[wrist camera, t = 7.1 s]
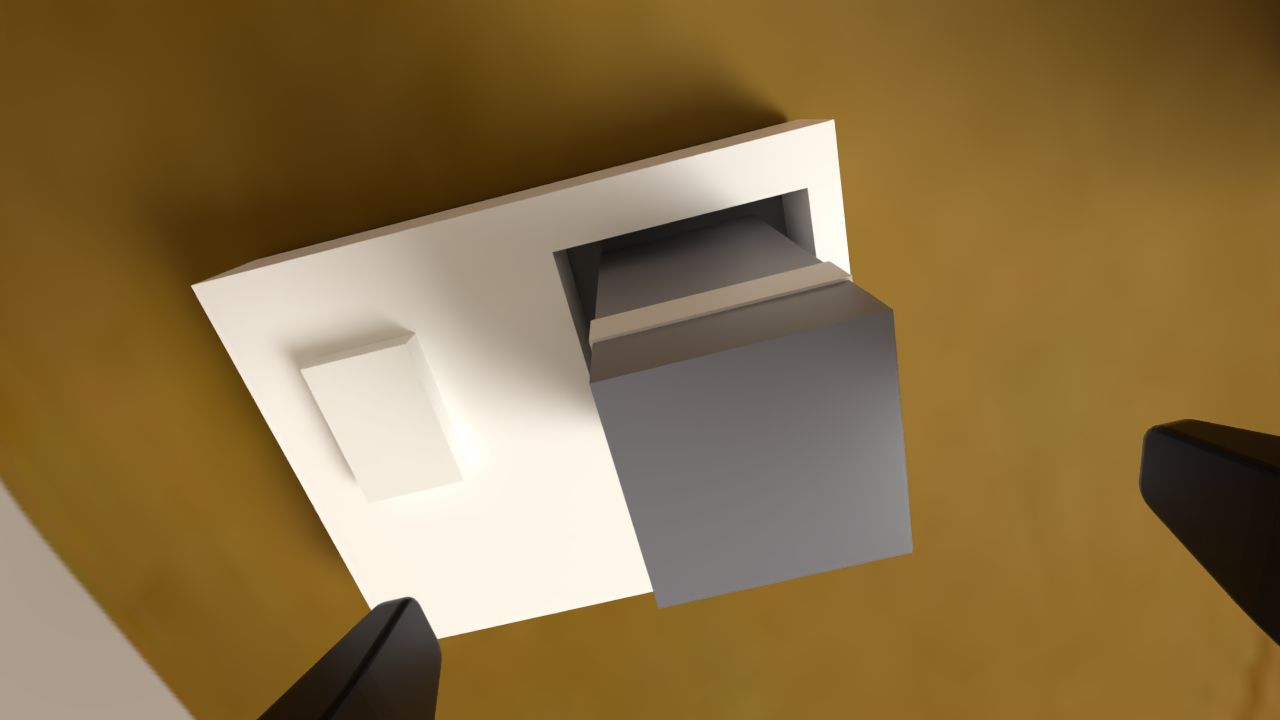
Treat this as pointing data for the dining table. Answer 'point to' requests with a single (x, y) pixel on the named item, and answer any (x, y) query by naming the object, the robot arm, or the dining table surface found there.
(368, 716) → the robot arm
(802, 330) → the plug
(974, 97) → the dining table surface
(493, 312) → the socket plate
